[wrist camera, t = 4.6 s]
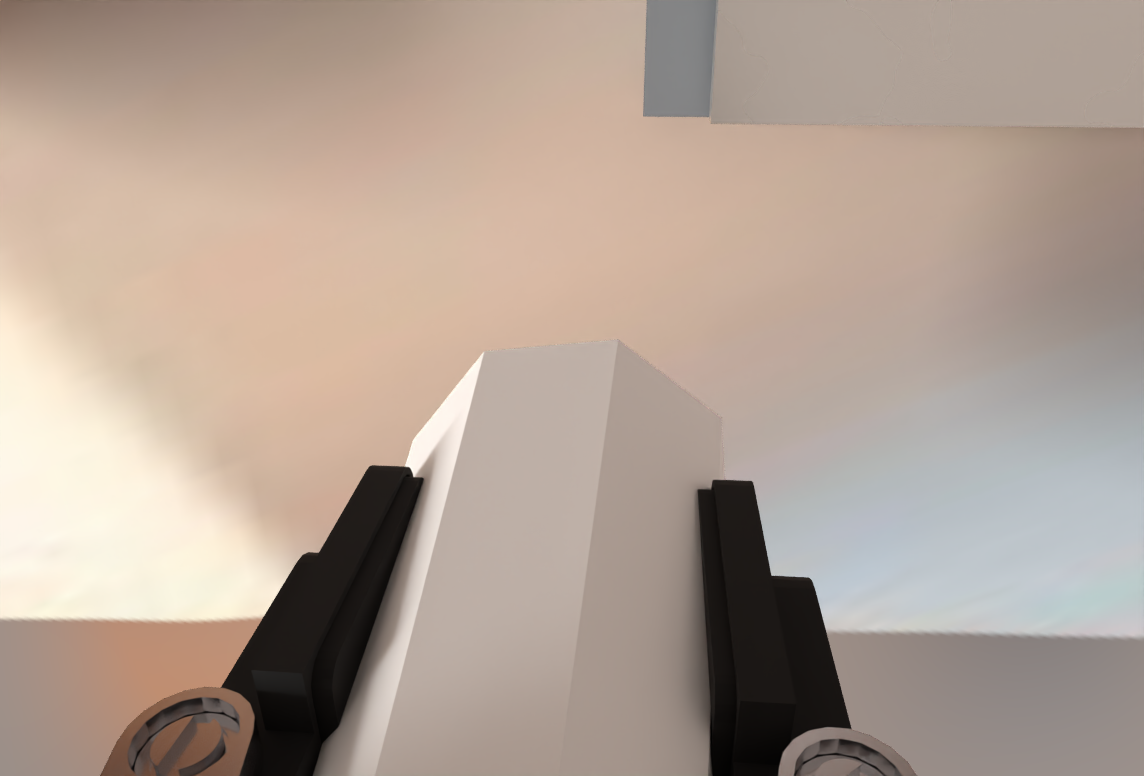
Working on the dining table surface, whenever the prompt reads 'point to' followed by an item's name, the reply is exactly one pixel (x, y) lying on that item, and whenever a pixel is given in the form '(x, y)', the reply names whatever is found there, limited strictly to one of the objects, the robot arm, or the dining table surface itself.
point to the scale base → (678, 57)
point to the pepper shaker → (545, 580)
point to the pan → (929, 63)
